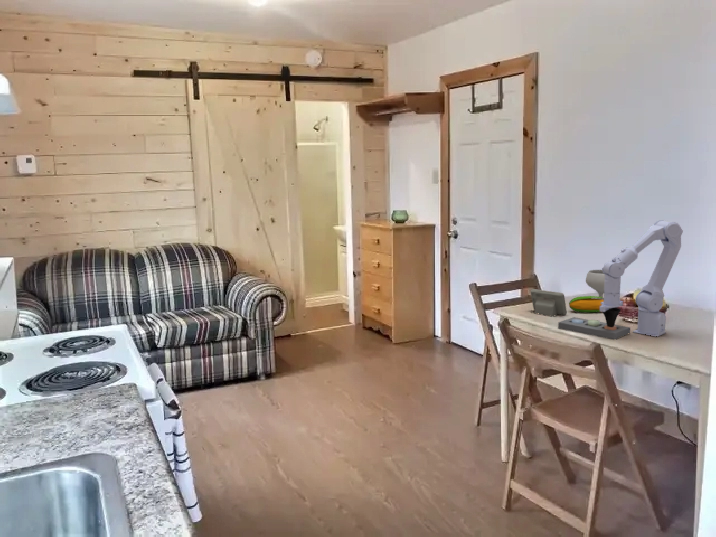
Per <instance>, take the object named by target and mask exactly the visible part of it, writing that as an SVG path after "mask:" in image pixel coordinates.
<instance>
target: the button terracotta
mask: <svg viewBox="0 0 716 537" xmlns="http://www.w3.org/2000/svg"><path fill="white" fill-rule="evenodd" d="M604 329H609V330H616V329H617V327H616V326H614V327H608V326H607V325H605V326H604Z"/></svg>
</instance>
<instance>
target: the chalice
mask: <svg viewBox="0 0 716 537" xmlns="http://www.w3.org/2000/svg"><path fill="white" fill-rule="evenodd" d="M585 277H586V278H585V284H586V286H588V287H589V288H591V289H593V290H594V291H595V292H597V294H598V297H603V298H596V299H602V300H604V283H605V274H604V273H603V271H602V269H591V270H589V271H587V273H586V276H585Z"/></svg>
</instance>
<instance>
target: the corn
mask: <svg viewBox="0 0 716 537" xmlns="http://www.w3.org/2000/svg"><path fill="white" fill-rule="evenodd" d="M597 298H604V296H603V297H599V296H596V295H587V296H586V295H585V296H584V295H583V296H577V297H576V296H575V297H573V298H572V299H571V300H569V302H568V306H569V309H570V310H572V311H573V312H576V313H580V312H581V313H585V314H586V313H589V314H591V313H592V314H593V313H601V312H602V311H600V306H601V305H602V304H601V302H604V300H602V299H597Z"/></svg>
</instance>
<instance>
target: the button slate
mask: <svg viewBox="0 0 716 537" xmlns="http://www.w3.org/2000/svg"><path fill="white" fill-rule="evenodd" d="M572 323H577V324H582V323H583V320H581V319H572Z"/></svg>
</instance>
